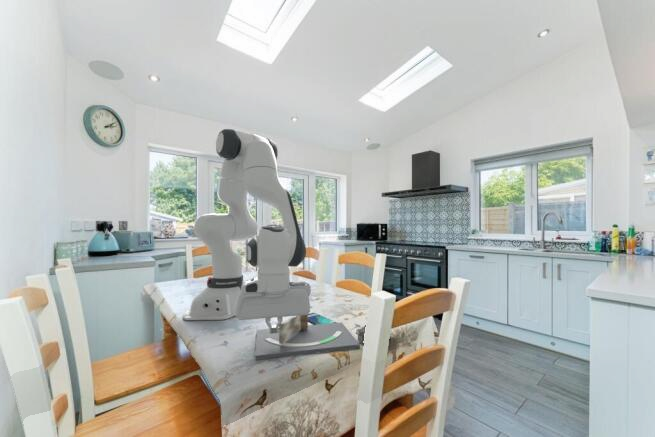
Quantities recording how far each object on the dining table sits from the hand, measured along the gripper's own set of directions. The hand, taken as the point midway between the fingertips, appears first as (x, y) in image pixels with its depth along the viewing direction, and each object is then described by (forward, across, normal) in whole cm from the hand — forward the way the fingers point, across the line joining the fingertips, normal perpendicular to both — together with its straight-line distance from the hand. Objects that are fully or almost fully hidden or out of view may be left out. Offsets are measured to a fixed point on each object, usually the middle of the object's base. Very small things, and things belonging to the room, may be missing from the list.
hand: (274, 332), depth 77 cm
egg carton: (+5, -29, +1) cm, 30 cm away
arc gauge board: (+4, -9, -3) cm, 11 cm away
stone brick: (+3, -6, -5) cm, 8 cm away
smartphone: (+5, -16, -19) cm, 26 cm away
